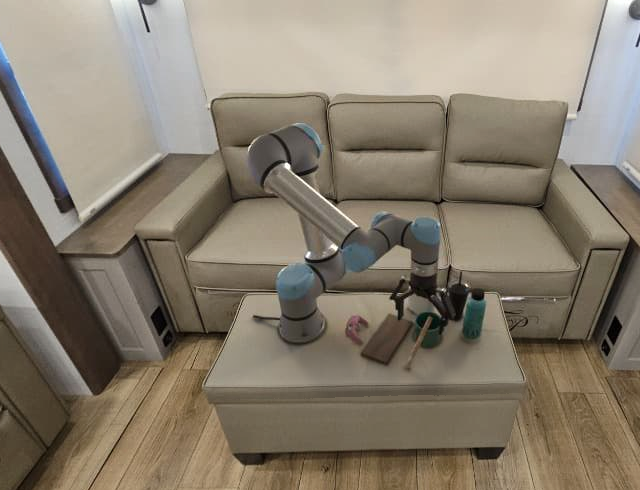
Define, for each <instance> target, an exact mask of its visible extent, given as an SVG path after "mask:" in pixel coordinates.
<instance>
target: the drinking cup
mask: <svg viewBox="0 0 640 490" xmlns="http://www.w3.org/2000/svg"><path fill="white" fill-rule="evenodd" d="M462 276H463V271H462V270H460V271H459V277H458V279H456V278H455V279H452V280H451V281H449V282H448V283H447V290H448V296H449V299H450V301H451V303H452V306H453V308H454V310H455V313H456V315H455V316H454V318H453V320H452V321H460V320H461V319H462V318H463V315H464V312H465V309H466V304H467V299H468V298H469V294H470V291H471V288H472V287H471V285H470V284H469V282H467V281H466V280H464V279H462Z"/></svg>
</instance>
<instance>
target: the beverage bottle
mask: <svg viewBox="0 0 640 490" xmlns="http://www.w3.org/2000/svg"><path fill="white" fill-rule="evenodd" d="M485 294H486V293H485V290H484V289H482V288H480V287H474V288H473V289H472V291H471V294H470V296H468V297H467V301H466V304H465V309H464V317H463V322H462V327H461V334H462V336H463V337H464V339H467V340H469V341H474V340H478V339H479V338H480V336H481V334H482V330H483V326H484V324H483V323H484V319H485V315H486V313H485V312H486V307H487V301H486V299H485Z"/></svg>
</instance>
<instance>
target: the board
mask: <svg viewBox="0 0 640 490" xmlns="http://www.w3.org/2000/svg"><path fill="white" fill-rule="evenodd" d="M412 325H413V321H412V320H409V319H406V318H404V317H402V319H401V320H400V321H399V320H398V315H395V314H392V313H388V315H387V316H386V318H385V319H384V320H383V322H382V323H381V324H380V326H379V328H378V329H377V330H376V332H374V334H373V336H372V337H371V338H370V340H369V341H368V342H367V344H366V345H365V347H364V348H363V350H362V351H361V353H360V354H361V356H364V357H366V358H368V359H371V360H373V361H376V362H378V363H380V364H383V365H388V363H389V361H390V360H391V358H392V357H393V355H394V354H395V352H396V350H397V349H398V347H399V346H400V344H401V342H402V341H403V339H404V338H405V336H406V335H407V333H408V331H409V330H410V328H411V327H412Z"/></svg>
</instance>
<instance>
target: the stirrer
mask: <svg viewBox="0 0 640 490" xmlns="http://www.w3.org/2000/svg"><path fill="white" fill-rule="evenodd" d="M432 319H433V318H432V317H430V316H429V317H428V319H427V321H426V323H425V325H424V327H423V330H422V332H421V334H420V336H419V338H418V340H417V342H415V344H414V346H413V348H412V350H411V353H410V355H409V357H408V358H407V361H406V363H405V365H404V368H406V369H407V370H410V368H411V366H412V363H413V361H414V359H415V357H416V355H417V353H418V350H419V348H420V347H421V346H420V344H421V342H422V340H423V338H424V336H425V334H426V331H427V329H428V327H429V325H430V323H431V321H432Z"/></svg>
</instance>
